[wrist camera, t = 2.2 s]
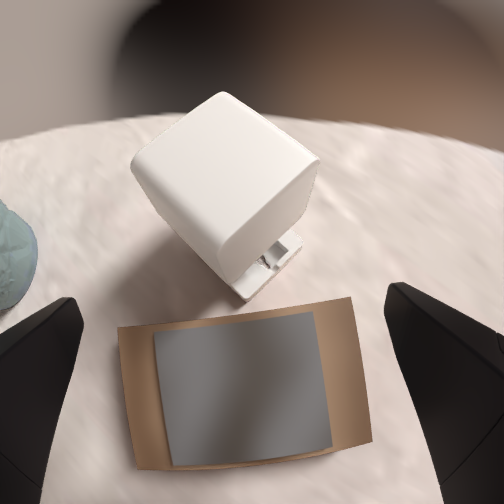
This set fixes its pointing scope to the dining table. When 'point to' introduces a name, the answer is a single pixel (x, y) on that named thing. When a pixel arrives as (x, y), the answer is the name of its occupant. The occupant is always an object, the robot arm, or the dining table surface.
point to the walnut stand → (245, 388)
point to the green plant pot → (15, 257)
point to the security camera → (230, 189)
